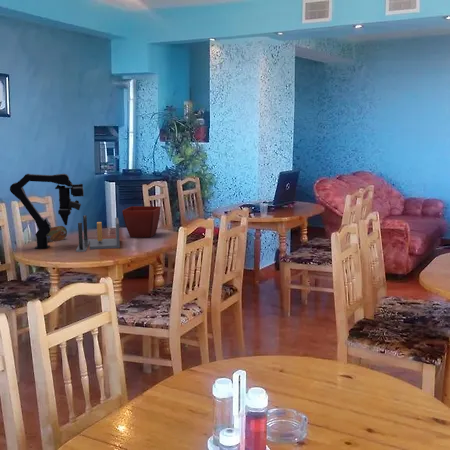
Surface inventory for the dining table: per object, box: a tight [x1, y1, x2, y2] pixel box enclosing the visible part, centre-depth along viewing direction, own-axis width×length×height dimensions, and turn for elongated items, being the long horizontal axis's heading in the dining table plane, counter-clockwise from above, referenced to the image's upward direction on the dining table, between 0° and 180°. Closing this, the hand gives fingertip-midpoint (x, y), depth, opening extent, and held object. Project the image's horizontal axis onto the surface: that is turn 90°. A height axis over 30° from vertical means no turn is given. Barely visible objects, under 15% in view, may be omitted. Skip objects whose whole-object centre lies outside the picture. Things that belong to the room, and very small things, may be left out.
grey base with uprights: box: [89, 217, 121, 250], centre depth 339 cm, size 16×22×14 cm
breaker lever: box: [96, 221, 103, 243], centre depth 339 cm, size 2×5×11 cm, turn 11°
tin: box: [46, 225, 68, 243], centre depth 354 cm, size 15×3×8 cm, turn 143°
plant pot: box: [121, 205, 162, 238], centre depth 367 cm, size 19×19×17 cm
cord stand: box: [75, 215, 91, 253], centre depth 337 cm, size 5×32×15 cm, turn 8°
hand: (65, 225), depth 334 cm, fingers closed
